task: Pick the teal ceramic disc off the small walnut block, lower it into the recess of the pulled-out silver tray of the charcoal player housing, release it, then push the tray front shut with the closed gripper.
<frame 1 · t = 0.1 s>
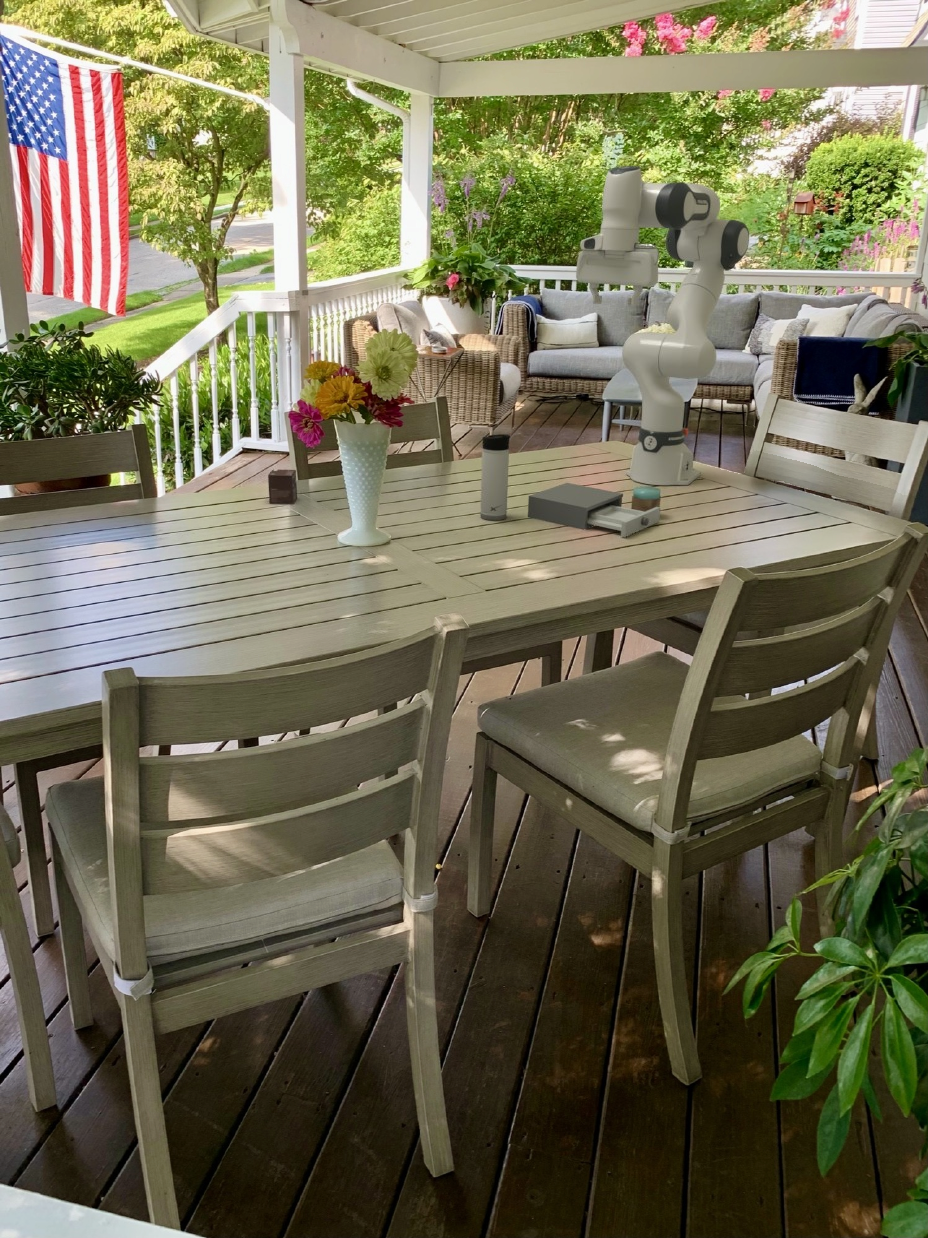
hand: (614, 305, 240), 48 cm above the table, fingers open, 8 cm apart
travel mug: (494, 518, 243), on the table
housing: (575, 515, 245), on the table
disc: (646, 496, 244), point 5 cm above the table, touching pedestal
box: (283, 501, 253), on the table
tray: (614, 516, 238), point 2 cm above the table, slide at 9.0 cm
pedestal: (644, 516, 246), on the table
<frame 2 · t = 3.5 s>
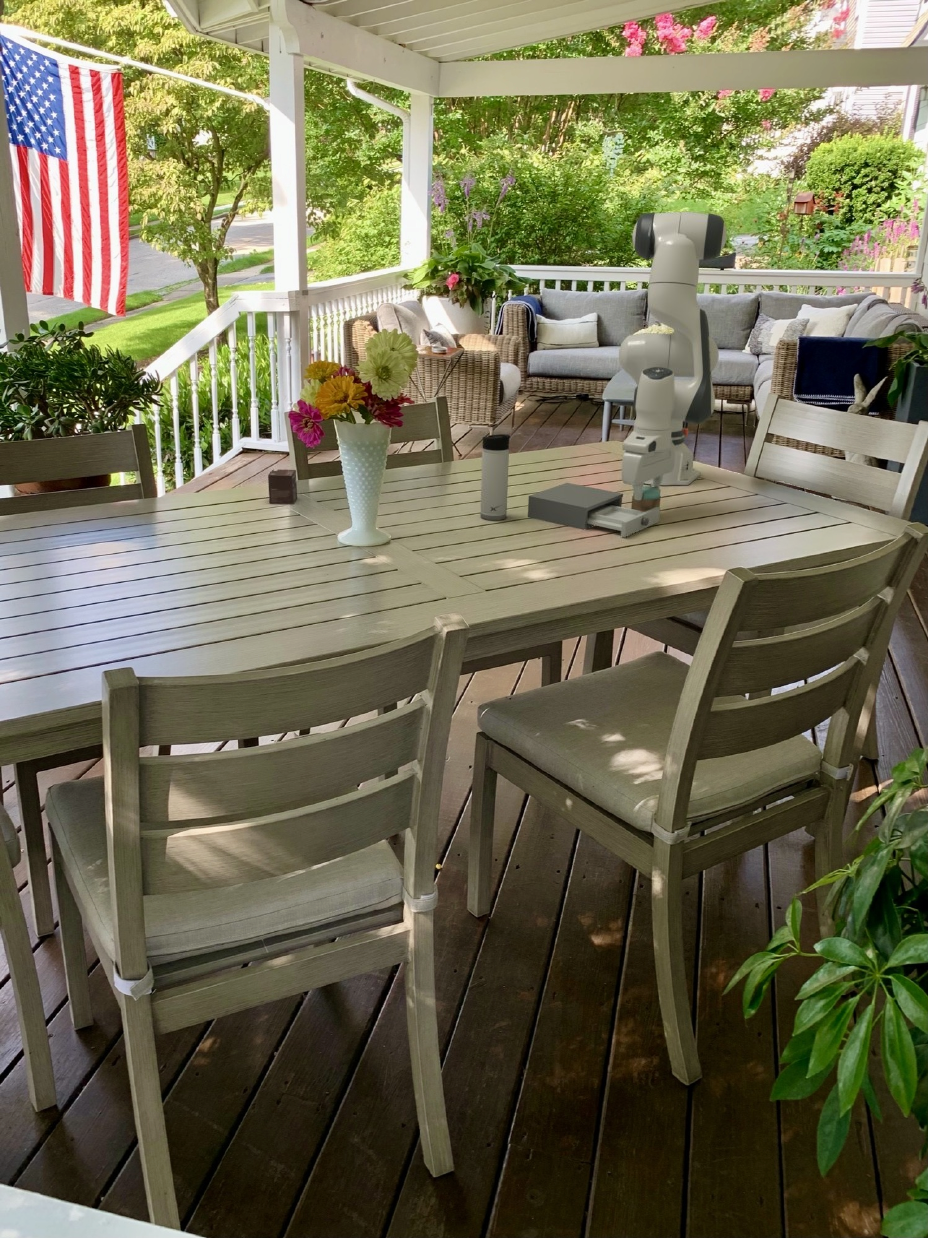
hand: (646, 496, 244), 5 cm above the table, fingers closed on disc, 6 cm apart
disc: (646, 496, 244), point 5 cm above the table, touching gripper, pedestal
everything else where it was.
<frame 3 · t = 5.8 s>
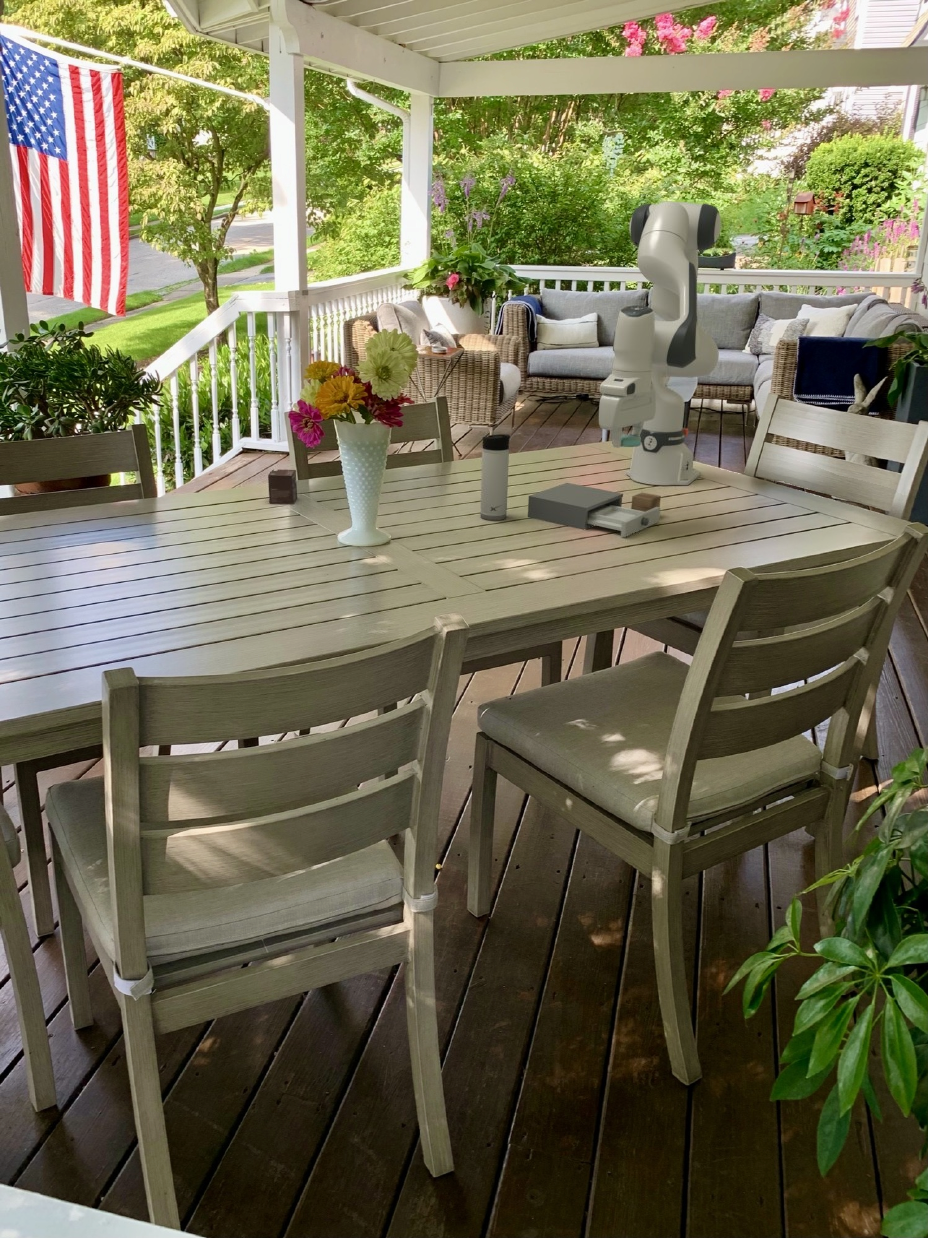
hand: (626, 444, 231), 19 cm above the table, fingers closed on disc, 6 cm apart
disc: (626, 444, 231), point 19 cm above the table, touching gripper
everything else where it was.
when the fingers open (4 cm above the table, at t = 8.1 s): disc drops 2 cm, resting on tray.
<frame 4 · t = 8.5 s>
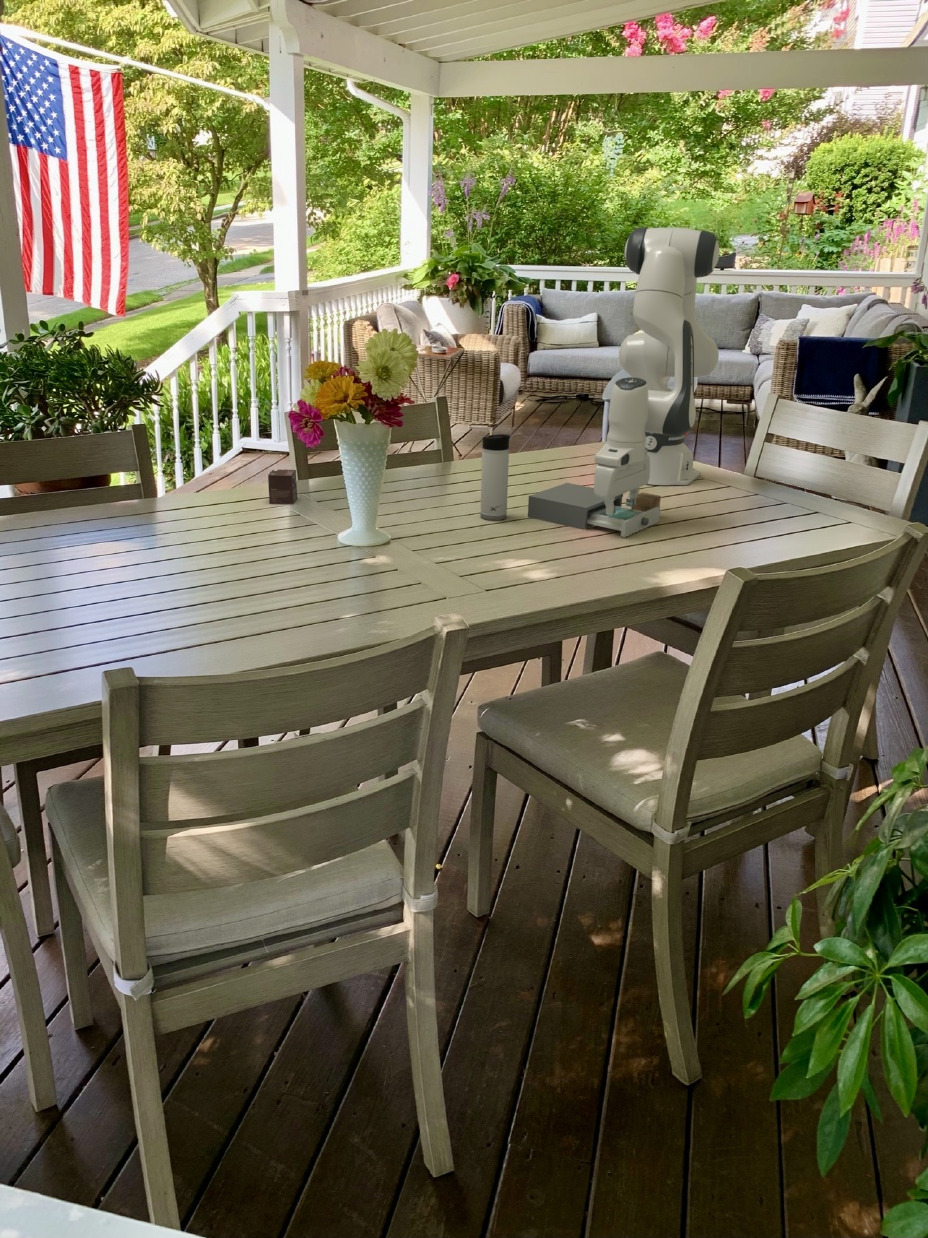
hand: (620, 510, 237), 4 cm above the table, fingers open, 8 cm apart
disc: (620, 517, 238), point 2 cm above the table, touching tray
tray: (614, 516, 238), point 2 cm above the table, slide at 9.0 cm, touching disc
everything else where it was.
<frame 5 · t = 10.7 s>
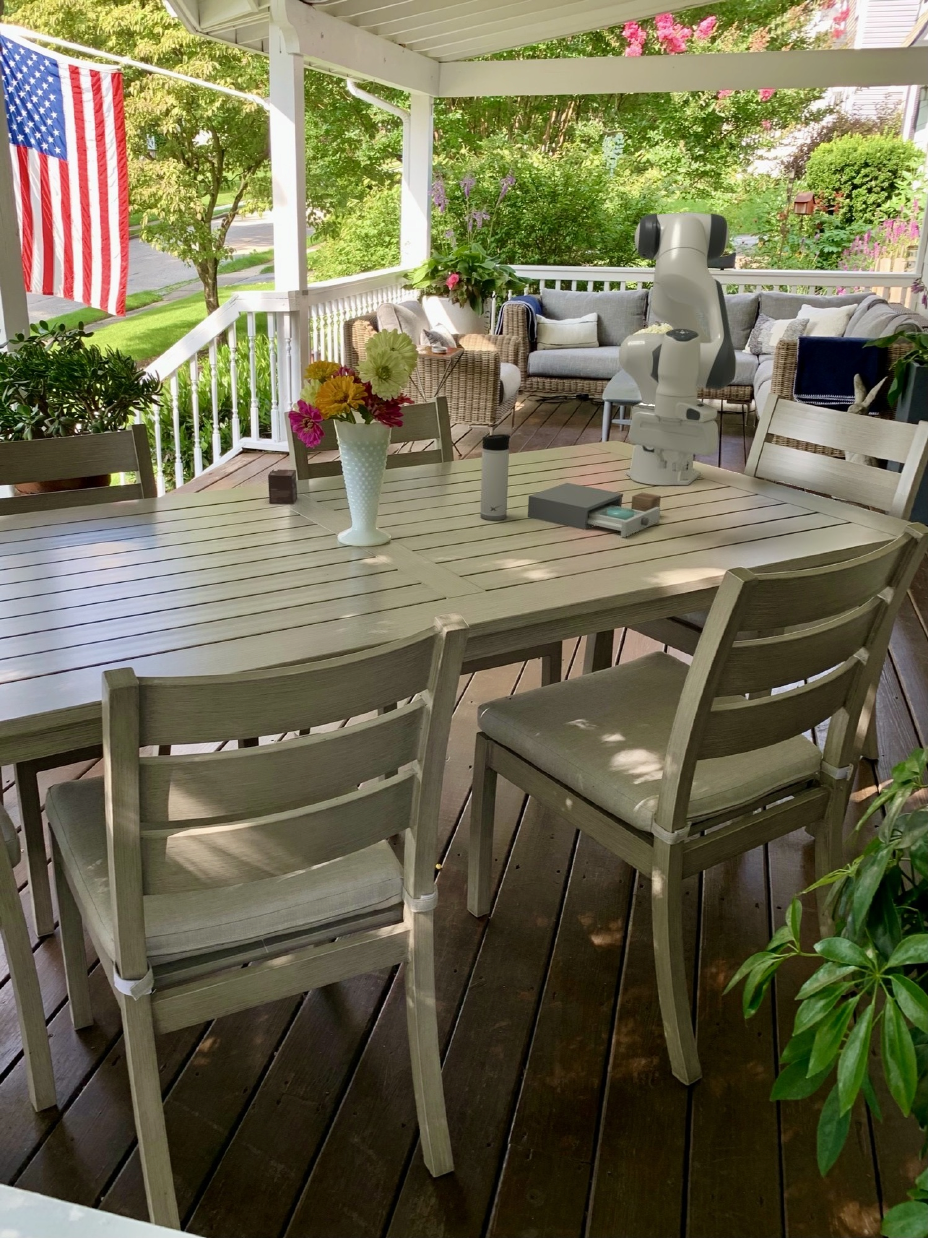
hand: (669, 469, 227), 15 cm above the table, fingers closed
nothing on the table moved.
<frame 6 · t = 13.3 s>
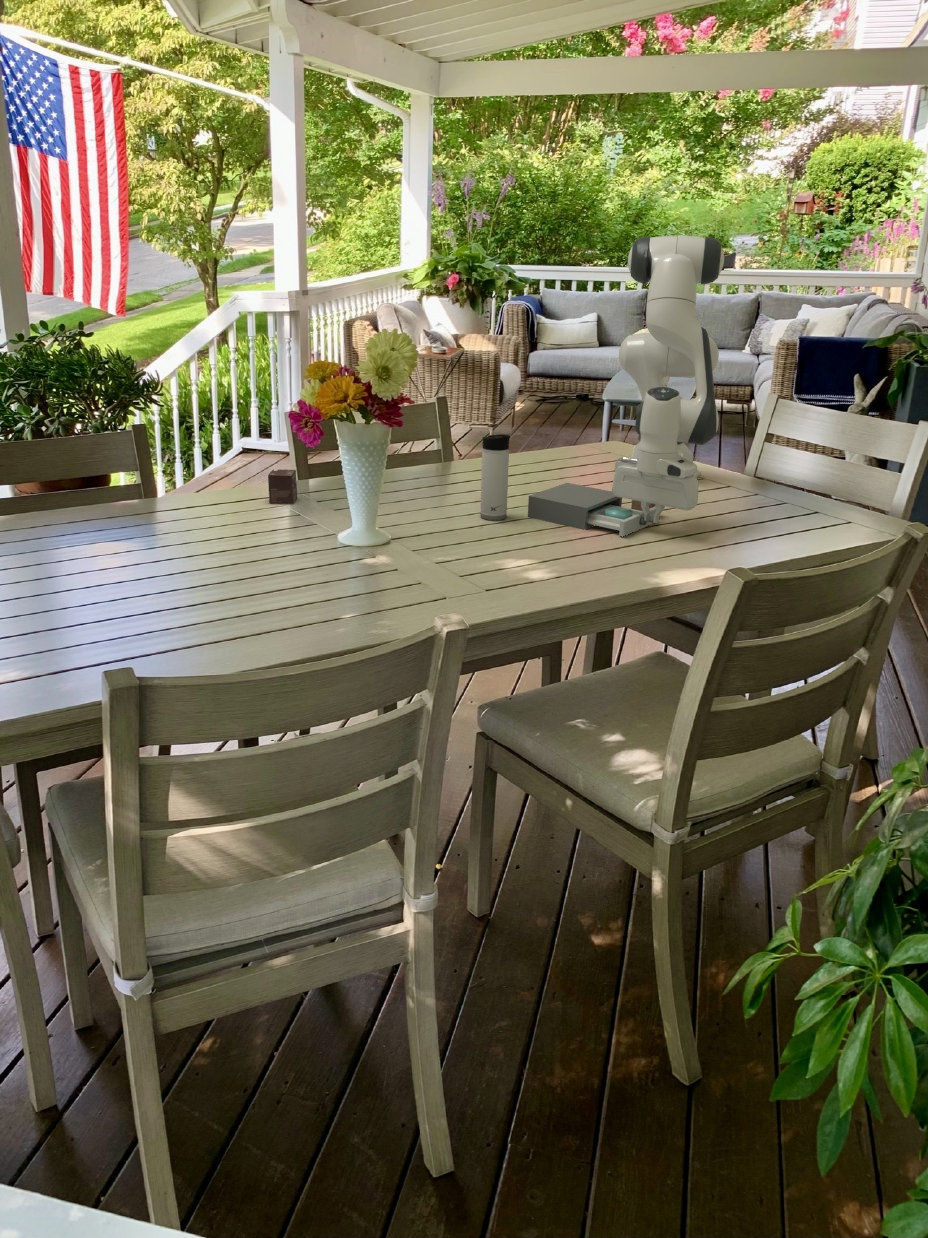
hand: (651, 521, 233), 2 cm above the table, fingers closed
tray: (613, 515, 239), point 2 cm above the table, slide at 8.6 cm, touching disc, gripper
everything else where it was.
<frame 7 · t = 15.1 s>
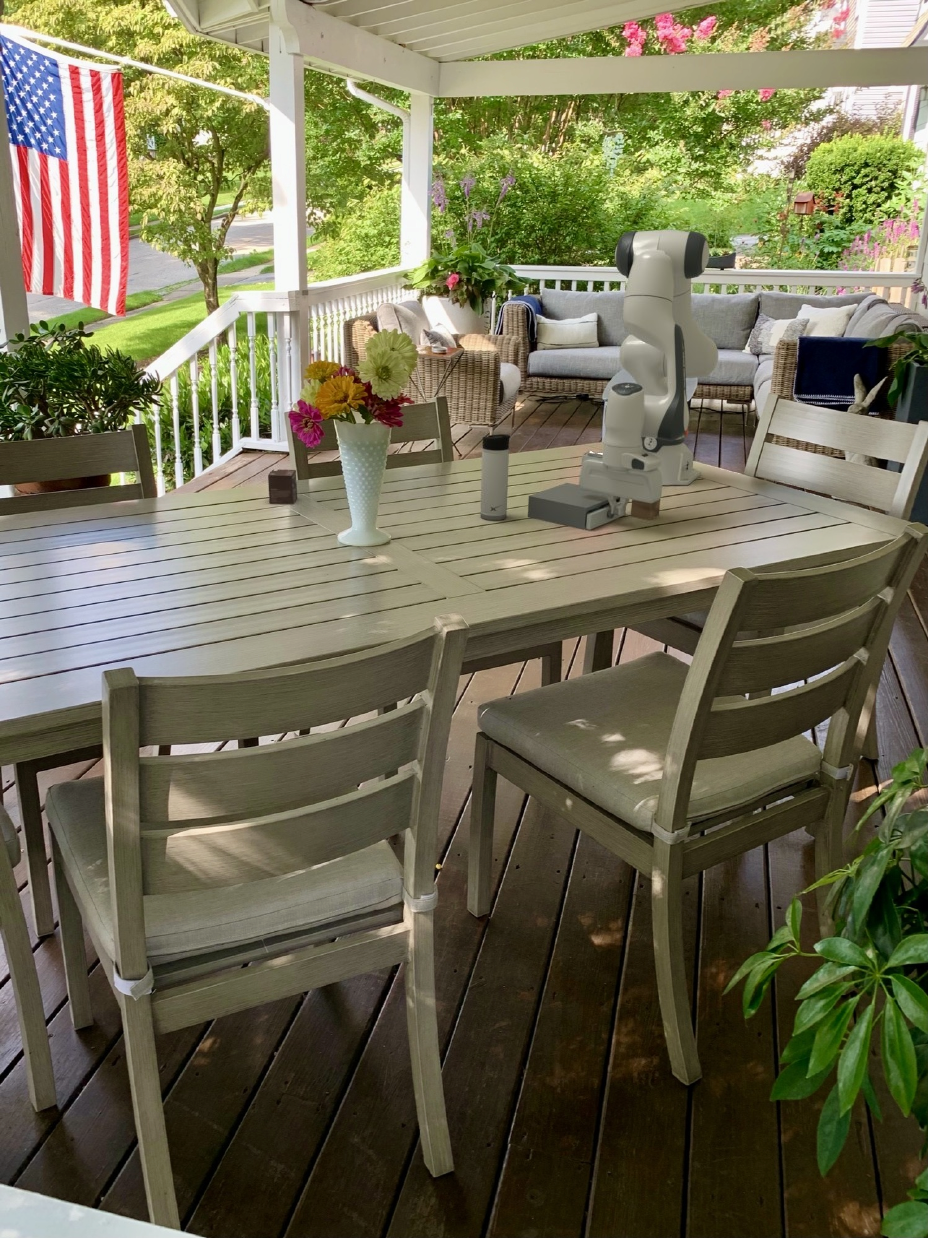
hand: (617, 514, 238), 2 cm above the table, fingers closed
disc: (586, 510, 243), point 2 cm above the table, touching tray
tray: (581, 509, 244), point 2 cm above the table, slide at -0.1 cm, touching disc, gripper
everything else where it was.
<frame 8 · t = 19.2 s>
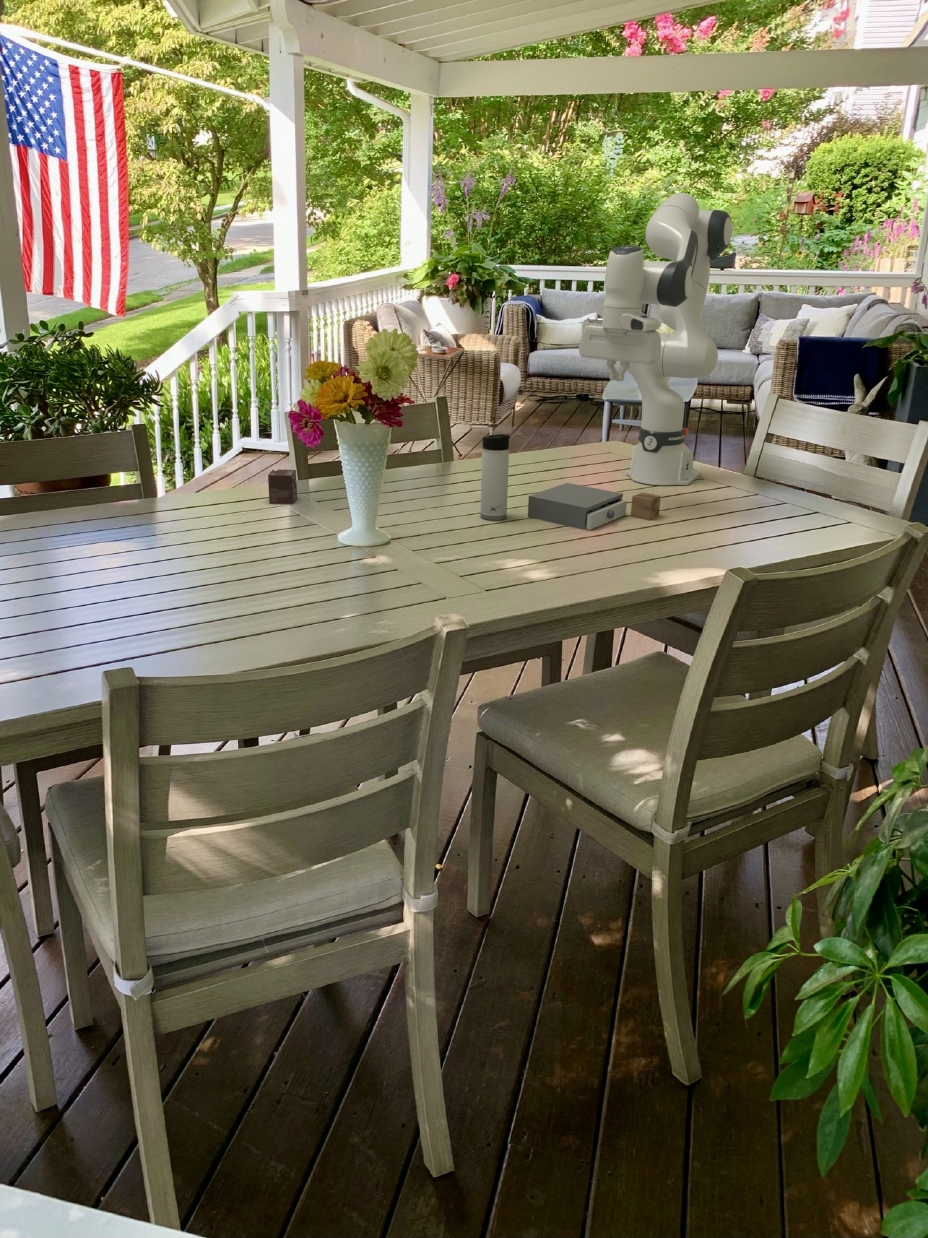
hand: (616, 380, 241), 31 cm above the table, fingers closed
tray: (582, 509, 244), point 2 cm above the table, slide at 0.0 cm, touching disc
everything else where it was.
at the end: tray slide at 0.0 cm; disc inside the target area on the housing (0.7 cm from its centre), point 1.9 cm above the housing's base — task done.
